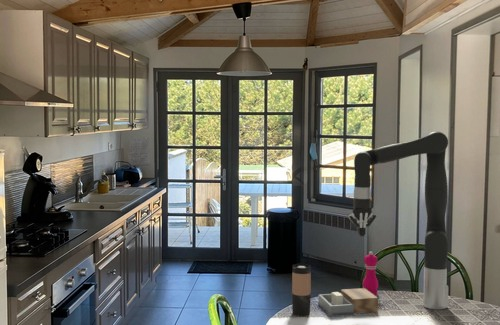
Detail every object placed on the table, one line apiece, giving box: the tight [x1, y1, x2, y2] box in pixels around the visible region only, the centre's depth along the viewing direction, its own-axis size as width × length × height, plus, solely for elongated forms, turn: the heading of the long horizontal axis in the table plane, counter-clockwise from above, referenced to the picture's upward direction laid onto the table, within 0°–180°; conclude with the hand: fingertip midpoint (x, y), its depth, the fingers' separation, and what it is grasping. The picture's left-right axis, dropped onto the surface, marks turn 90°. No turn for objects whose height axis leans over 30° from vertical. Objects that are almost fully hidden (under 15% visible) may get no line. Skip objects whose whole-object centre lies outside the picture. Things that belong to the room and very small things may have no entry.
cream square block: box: [331, 291, 343, 305], centre depth 239 cm, size 5×5×3 cm
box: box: [317, 293, 355, 317], centre depth 238 cm, size 10×16×4 cm, turn 11°
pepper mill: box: [362, 251, 379, 296], centre depth 258 cm, size 7×7×20 cm
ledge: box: [340, 287, 379, 314], centre depth 240 cm, size 11×14×6 cm
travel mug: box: [291, 263, 312, 317], centre depth 231 cm, size 8×8×20 cm
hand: (361, 235), depth 248 cm, fingers closed
